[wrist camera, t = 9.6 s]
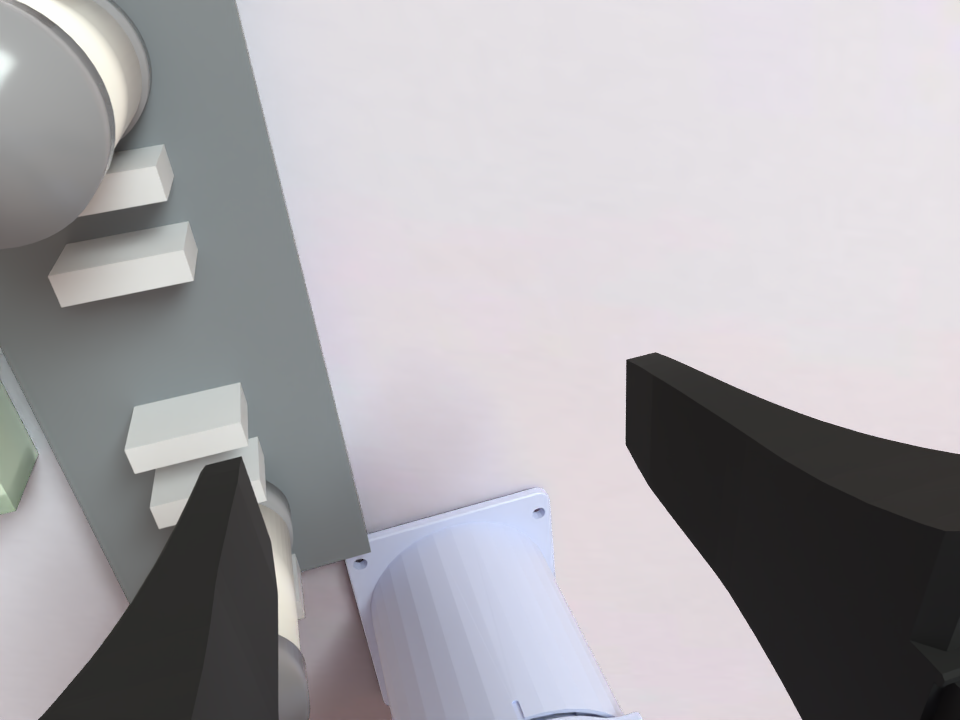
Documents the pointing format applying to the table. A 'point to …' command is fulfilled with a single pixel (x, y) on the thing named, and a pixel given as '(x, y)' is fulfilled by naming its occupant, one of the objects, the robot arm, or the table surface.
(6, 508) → the tray
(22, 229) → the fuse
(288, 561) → the fuse
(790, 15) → the table surface
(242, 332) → the clip board
